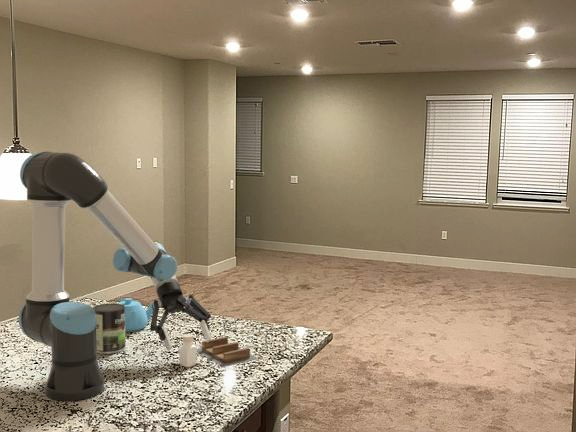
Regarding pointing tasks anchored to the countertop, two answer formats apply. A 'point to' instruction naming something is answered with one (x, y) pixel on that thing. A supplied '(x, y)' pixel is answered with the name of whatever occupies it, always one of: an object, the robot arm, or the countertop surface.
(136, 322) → the teapot
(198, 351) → the mat
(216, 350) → the rack
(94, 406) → the countertop surface
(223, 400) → the countertop surface
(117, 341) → the coffee can
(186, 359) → the salt shaker
